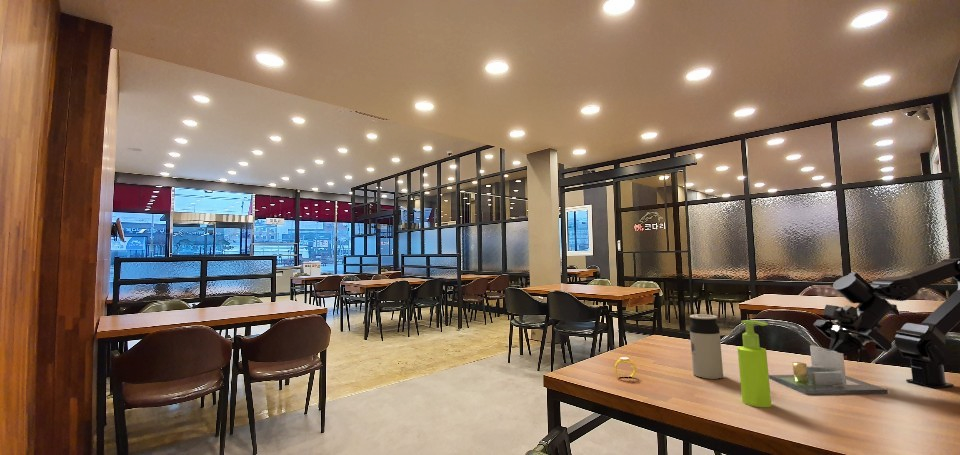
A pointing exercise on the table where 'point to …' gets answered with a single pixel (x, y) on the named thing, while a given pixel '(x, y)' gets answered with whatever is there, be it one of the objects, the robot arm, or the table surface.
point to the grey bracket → (826, 367)
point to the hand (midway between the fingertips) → (829, 356)
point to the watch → (625, 360)
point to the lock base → (807, 387)
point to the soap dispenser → (753, 368)
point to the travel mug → (706, 346)
